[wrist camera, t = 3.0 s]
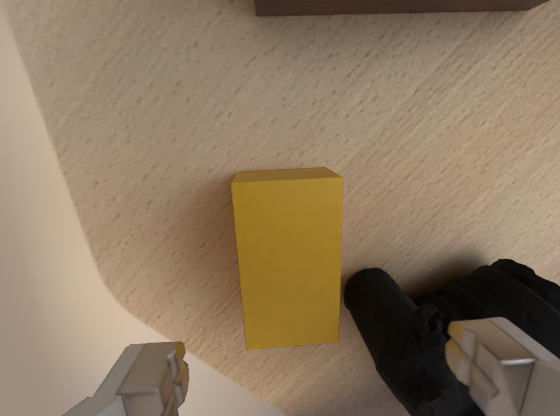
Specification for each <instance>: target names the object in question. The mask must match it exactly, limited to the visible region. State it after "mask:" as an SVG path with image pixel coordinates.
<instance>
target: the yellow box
mask: <svg viewBox="0 0 560 416" xmlns="http://www.w3.org/2000/svg"><path fill="white" fill-rule="evenodd" d="M231 194H232V205H233V215H234V226H235V236H236V247H237V258H238V268H239V279H240V289H241V300H242V310H243V321H244V332H245V342H246V349H247V350H249V349H262V348H274V347H286V346H299V345H311V344H323V343H336V342H339V319H340V278H341V237H342V196H343V177H342V176H340V175H338V174H336V173H334V172H333V171H331V170H329V169H327V168H325V167H322V168H302V169H282V170H262V171H241V172H238V173H237V174H236V176H235V177H234V179H233V180H232V182H231Z"/></svg>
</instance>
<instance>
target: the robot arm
mask: <svg viewBox="0 0 560 416" xmlns="http://www.w3.org/2000/svg"><path fill="white" fill-rule="evenodd" d="M447 333H448V334H449V335H450V337H451V339H450V340H449V341H448V342H447V343H446V344H445V357H446V361H447V364H448V366H449V368H450V370H451V372H452V373H453V374H454V376H455V377H456V378H457V380H459V381H461V382H462V383H464V384H465V385H467V386H468V393H469V395H470V396H471V398H472V399H473V400H474V402H475V403H476V404H477V405H478V407H479V408H480V409H481V410H482V412H483V413H484V414H485V416H560V359H559V358H557V357H556V356H555V355H553V354H552V353H551V352H549V351H548V350H547V349H545V348H544V347H543V346H542V345H540V344H539V343H538V342H536V341H535V340H534V339H532V338H531V337H530V336H528V335H527V334H526V333H524V332H523V331H522V330H521V329H519V328H518V327H517V326H515V325H514V324H513V323H511V322H510V321H509V320H507V319H505V318H502V317H494V318H484V319H475V320H463V321H451V323H450V324H449V325H448V331H447ZM185 352H186V351H185V347H184V343H183V342H181V341H180V342H160V343H147V344H130V345H129V346H127V347H126V348H125V349H124V351H123V352H122V354H121V356H120V357H119V359H118V360H117V361H116V363H115V364H114V366H113V367H112V369H111V370H110V372H109V373H108V375H107V376H106V378H105V379H104V381H103V382H102V384H101V385H100V387H99V388H98V390H97V391H96V393H95V394H94V396H93V397H87V398H85V399H84V400H83V401H81V402H80V403H79V404H77V405H76V406H74V407H73V408H72V409H70V410H69V411H68V412H66V413H65V414H64V415H63V416H179V414H178V408H179V407H180V406H181V404H183V402H184V401H185V397H186V394H187V391H188V383H189V368H188V364H187V363H186V362H185V361H184V360H183V358H184V355H185Z"/></svg>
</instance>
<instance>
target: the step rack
mask: <svg viewBox="0 0 560 416" xmlns="http://www.w3.org/2000/svg"><path fill="white" fill-rule="evenodd" d="M254 1H255V15H256V16H281V15H326V14H370V13H415V12H460V11H504V10H530V9H532V8H534V7H536V6H538V5H540V4H543V3H545V2H547V1H549V0H254Z"/></svg>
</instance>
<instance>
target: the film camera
mask: <svg viewBox="0 0 560 416" xmlns="http://www.w3.org/2000/svg"><path fill="white" fill-rule="evenodd" d="M344 303H345V306H346V308H347V309H348V310H349V311H350V313H351V315H352V317H353V319H354V322H355V324H356V326H357V328H358V330H359V332H360V334H361V336H362V338H363V340H364V342H365V344H366V346H367V348H368V350H369V352H370V354H371V356H372V358H373V360H374V362H375V366H376V370H377V371H378V373H379V375H380V376H381V378H382V379H383V380H384V382H385V383H386V384H387V386H388V387H389V388H390V390H391V391H392V393H393V394H394V396H395V397H396V398H397V399H398V400H399V401H400V402H401V403H402V404H403V406H404V407H405V408H406V410H407V411H408V412H409V414H410V415H411V416H485V414H484V413H483V412H482V410H481V409H480V408H479V407H478V405H477V404H476V403H475V402H474V400H473V399H472V398H471V396H470V395H469V393H468V386H467V385H465V384H464V383H462V382H461V381H459V380H457V378H456V377H455V376H454V374H453V373H452V372H451V370H450V368H449V366H448V364H447V361H446V357H445V344H446V343H447V342H448V341H449V340H450V339H451V337H450V335H449V334H448V333H447V331H448V325H449V324H450V323H451V321H463V320H475V319H484V318H494V317H502V318H505V319H507V320H509V321H510V322H511V323H513V324H514V325H515V326H517V327H518V328H519V329H521V330H522V331H523V332H524V333H526V334H527V335H528V336H530V337H531V338H532V339H534V340H535V341H536V342H538V343H539V344H540V345H542V346H543V347H544V348H545V349H547V350H548V351H549V352H551V353H552V354H553V355H555V356H556V357H557V358H559V359H560V286H559V285H557V284H556V283H554V282H551V281H548V280H545V279H543V278H541V277H539V276H538V275H536V274H535V272H534V270H533V269H531V268H529V267H527V266H526V265H523V264H520V263H517V262H515V261H513V260H511V259H498V261H496V262H493V263H492V265H491V266H488V265H484V266H481V267H479V268H477V269H476V270H474V271H473V272H472V273H470V274H469V275H468V276H466V277H465V278H463V279H462V280H461V281H460V282H459V283H457V284H455V285H450V286H448V287H447V288H445V289H444V290H442V294H441V295H440V296H435V295H432V294H430V293H426V294H424V295H422V296H420V297H419V298H417V299H416V300H413V301H411V299H410V298H409V297H408V296H407V295H406V294H405V293H404V292H403V291H402V290H401V288H400V287H399V286H398V285H397V283H396V282H395V281H394V280H393V279H392V278H391V276H390V275H388V274H387V273H386V272H385V271H384V270H382V269H379V268H372V269H364V270H362V271H360V272H359V273H357V274H356V275H355V276H354V277H352V278H351V279H350V280H349V281H348V283H347V285H346V288H345V291H344Z"/></svg>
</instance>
